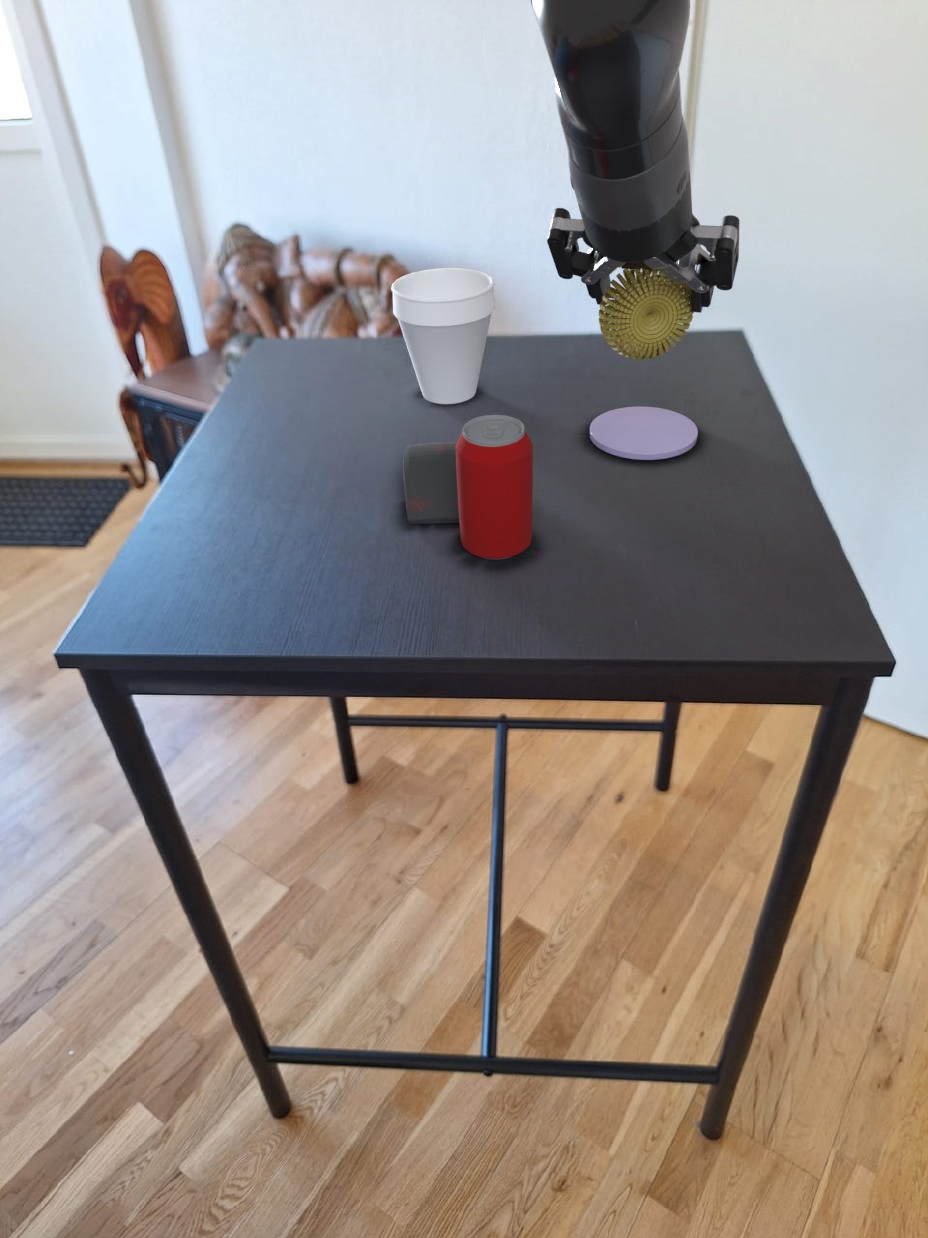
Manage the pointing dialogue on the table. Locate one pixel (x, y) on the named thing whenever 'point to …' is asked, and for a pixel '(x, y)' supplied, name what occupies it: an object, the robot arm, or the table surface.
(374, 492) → the table surface
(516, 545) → the beverage can
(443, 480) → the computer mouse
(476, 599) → the table surface
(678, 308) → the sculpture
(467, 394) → the cup
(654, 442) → the saucer
